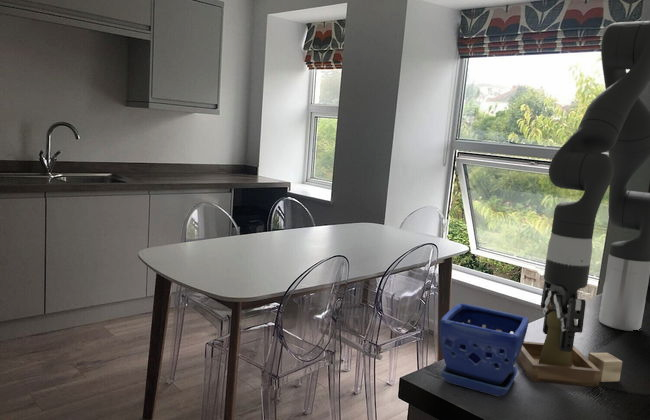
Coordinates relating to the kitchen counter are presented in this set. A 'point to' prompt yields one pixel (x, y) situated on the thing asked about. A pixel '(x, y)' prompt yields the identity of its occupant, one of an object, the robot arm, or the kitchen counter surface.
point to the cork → (554, 344)
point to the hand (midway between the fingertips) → (556, 342)
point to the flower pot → (481, 347)
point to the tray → (558, 367)
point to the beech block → (606, 366)
